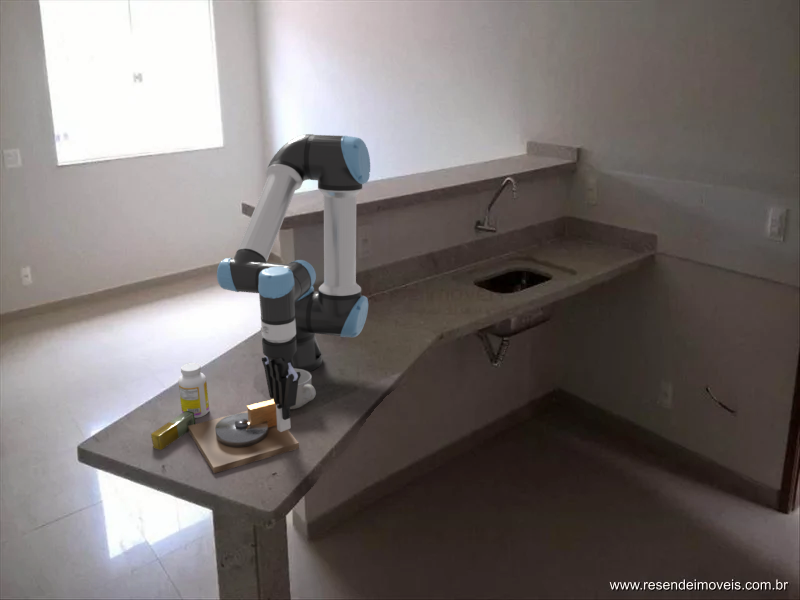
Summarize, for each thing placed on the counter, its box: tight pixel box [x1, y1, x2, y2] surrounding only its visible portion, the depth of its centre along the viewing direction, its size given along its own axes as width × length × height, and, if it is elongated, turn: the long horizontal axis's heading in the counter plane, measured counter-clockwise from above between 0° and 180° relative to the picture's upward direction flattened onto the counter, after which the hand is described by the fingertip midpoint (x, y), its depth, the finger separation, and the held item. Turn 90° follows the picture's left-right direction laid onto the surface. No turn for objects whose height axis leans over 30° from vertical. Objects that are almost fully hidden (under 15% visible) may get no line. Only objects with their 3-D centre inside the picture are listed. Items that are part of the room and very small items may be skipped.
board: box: [188, 410, 300, 474], centre depth 172 cm, size 20×20×2 cm
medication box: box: [150, 411, 196, 450], centre depth 173 cm, size 12×3×4 cm, turn 153°
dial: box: [215, 399, 277, 447], centre depth 172 cm, size 16×12×6 cm
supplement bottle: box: [177, 362, 210, 419], centre depth 182 cm, size 7×7×13 cm
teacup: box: [270, 368, 317, 410], centre depth 186 cm, size 14×11×8 cm
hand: (283, 428), depth 171 cm, fingers closed
